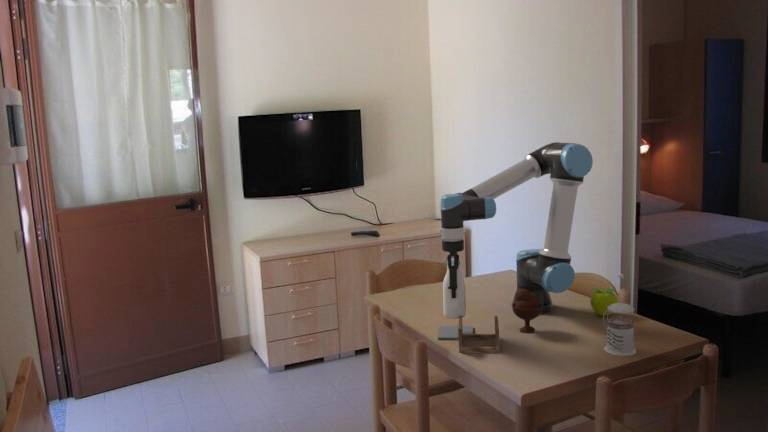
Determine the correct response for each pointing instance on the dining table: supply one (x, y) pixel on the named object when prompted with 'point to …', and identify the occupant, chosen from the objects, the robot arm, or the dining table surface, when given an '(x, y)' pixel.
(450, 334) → the coaster
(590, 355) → the dining table surface
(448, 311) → the milk bottle
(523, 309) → the ice cream bowl
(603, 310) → the fruit
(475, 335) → the cradle
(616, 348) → the french press
